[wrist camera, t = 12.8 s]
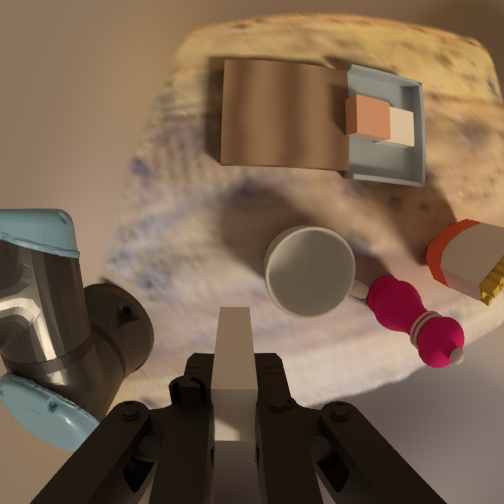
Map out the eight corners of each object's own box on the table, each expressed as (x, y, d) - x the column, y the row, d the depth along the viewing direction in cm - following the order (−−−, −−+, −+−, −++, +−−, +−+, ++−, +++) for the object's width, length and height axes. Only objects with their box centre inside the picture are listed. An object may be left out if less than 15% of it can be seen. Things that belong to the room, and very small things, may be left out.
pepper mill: (410, 289, 42) (490, 346, 22) (382, 323, 43) (449, 395, 24) (385, 263, 41) (471, 317, 21) (355, 300, 42) (424, 375, 22)
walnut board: (221, 165, 36) (220, 163, 33) (225, 68, 33) (224, 59, 30) (340, 171, 37) (348, 170, 34) (339, 77, 34) (347, 70, 31)
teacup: (244, 270, 40) (246, 291, 32) (288, 203, 38) (301, 208, 30) (323, 316, 42) (340, 343, 34) (365, 256, 40) (391, 272, 32)
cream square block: (374, 143, 35) (384, 140, 33) (373, 109, 34) (383, 104, 31) (403, 148, 36) (414, 146, 33) (402, 116, 35) (413, 112, 32)
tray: (344, 178, 37) (353, 178, 34) (342, 72, 34) (351, 63, 30) (412, 186, 38) (425, 187, 35) (409, 88, 34) (421, 82, 31)
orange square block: (345, 135, 33) (357, 132, 30) (345, 99, 32) (356, 94, 29) (377, 141, 34) (390, 139, 31) (376, 106, 33) (389, 102, 30)
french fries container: (465, 237, 41) (540, 263, 23) (426, 276, 42) (499, 319, 24) (457, 216, 40) (536, 236, 22) (416, 255, 41) (495, 293, 23)
